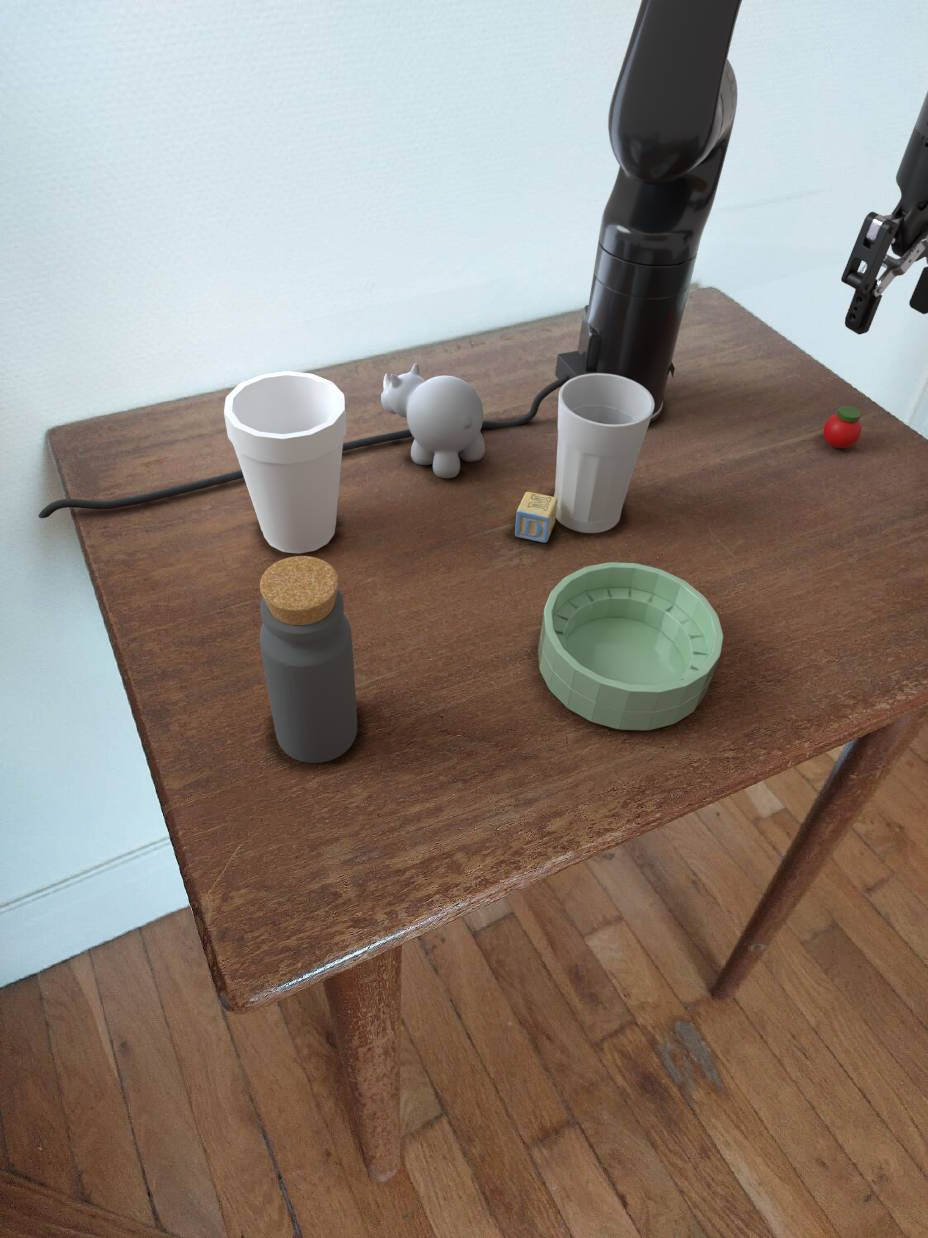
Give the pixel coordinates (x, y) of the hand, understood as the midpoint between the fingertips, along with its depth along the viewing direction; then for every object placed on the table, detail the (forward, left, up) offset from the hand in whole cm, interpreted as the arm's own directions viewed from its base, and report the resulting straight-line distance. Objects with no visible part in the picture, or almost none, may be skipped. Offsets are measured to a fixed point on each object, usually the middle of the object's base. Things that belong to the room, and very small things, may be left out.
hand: (887, 319), depth 83 cm
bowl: (-26, -31, -14) cm, 43 cm away
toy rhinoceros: (-42, -3, -14) cm, 44 cm away
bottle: (-49, -38, -14) cm, 64 cm away
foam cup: (-53, -16, -14) cm, 57 cm away
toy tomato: (0, 0, -14) cm, 14 cm away
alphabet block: (-32, -15, -14) cm, 38 cm away
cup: (-27, -12, -14) cm, 33 cm away
